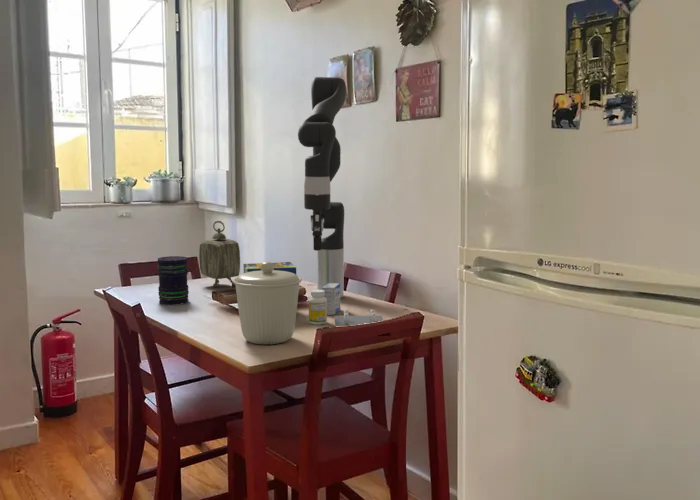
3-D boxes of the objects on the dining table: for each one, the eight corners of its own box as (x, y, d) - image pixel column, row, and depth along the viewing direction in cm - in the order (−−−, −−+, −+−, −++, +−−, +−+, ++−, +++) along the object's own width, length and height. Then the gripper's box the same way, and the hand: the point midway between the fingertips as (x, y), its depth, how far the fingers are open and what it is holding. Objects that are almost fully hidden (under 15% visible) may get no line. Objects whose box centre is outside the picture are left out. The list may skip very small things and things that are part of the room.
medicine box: (335, 315, 209) (335, 287, 208) (321, 314, 210) (321, 287, 209) (340, 309, 217) (340, 283, 216) (327, 309, 218) (327, 282, 216)
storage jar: (187, 298, 234) (186, 255, 232) (190, 303, 225) (189, 259, 223) (158, 300, 231) (156, 256, 229) (159, 305, 222) (157, 261, 220)
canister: (302, 348, 172) (302, 266, 169) (230, 350, 170) (229, 267, 168) (302, 330, 190) (301, 256, 187) (237, 332, 188) (235, 257, 185)
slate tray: (334, 320, 201) (334, 306, 201) (381, 320, 202) (381, 305, 201) (335, 334, 186) (335, 318, 185) (386, 334, 186) (386, 318, 186)
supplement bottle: (322, 325, 196) (322, 293, 195) (305, 323, 198) (305, 291, 197) (329, 321, 201) (329, 289, 200) (313, 319, 203) (313, 288, 202)
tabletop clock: (240, 287, 255) (239, 221, 251) (221, 290, 248) (219, 223, 245) (218, 282, 265) (216, 219, 261) (198, 285, 258) (196, 220, 255)
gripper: (305, 191, 201) (305, 245, 203) (303, 193, 187) (303, 251, 189) (330, 191, 201) (330, 245, 204) (330, 193, 187) (330, 251, 189)
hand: (317, 248), depth 196 cm, fingers open, 8 cm apart
